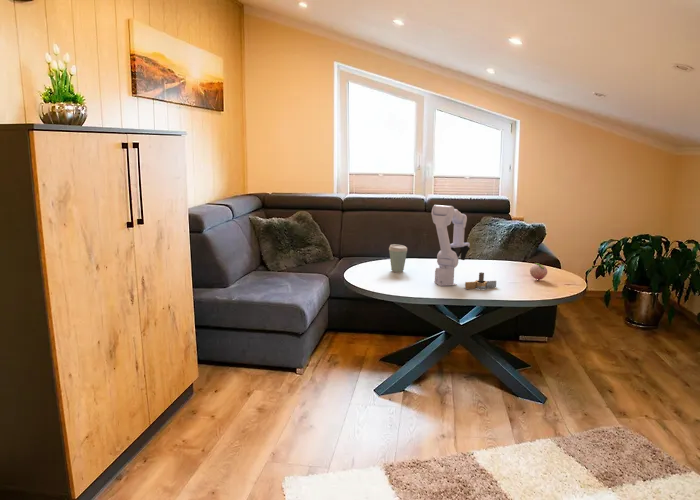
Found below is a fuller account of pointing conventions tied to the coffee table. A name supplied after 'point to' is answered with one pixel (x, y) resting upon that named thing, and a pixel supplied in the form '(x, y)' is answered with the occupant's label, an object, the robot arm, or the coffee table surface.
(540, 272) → the decorative fruit
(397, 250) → the disposable coffee cup
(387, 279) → the coffee table surface
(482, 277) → the hinge pin
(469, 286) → the hinge
